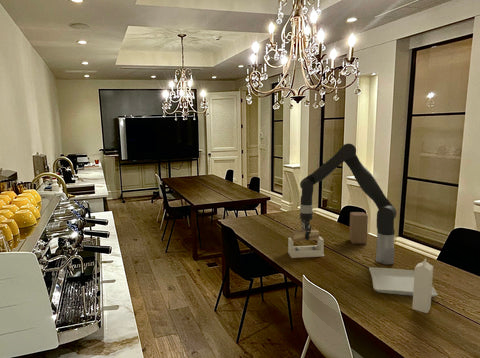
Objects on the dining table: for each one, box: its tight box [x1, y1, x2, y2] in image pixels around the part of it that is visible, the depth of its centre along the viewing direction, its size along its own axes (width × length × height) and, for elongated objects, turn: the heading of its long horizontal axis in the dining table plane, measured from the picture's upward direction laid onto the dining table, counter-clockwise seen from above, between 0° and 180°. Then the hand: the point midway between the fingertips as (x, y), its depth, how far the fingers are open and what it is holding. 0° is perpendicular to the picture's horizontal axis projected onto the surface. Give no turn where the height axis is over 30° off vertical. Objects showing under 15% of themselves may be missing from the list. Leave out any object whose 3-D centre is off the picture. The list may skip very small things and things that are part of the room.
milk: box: [411, 258, 434, 314], centre depth 147 cm, size 6×6×22 cm
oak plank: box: [292, 229, 320, 242], centre depth 213 cm, size 4×15×5 cm, turn 96°
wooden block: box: [348, 211, 369, 245], centre depth 235 cm, size 10×10×20 cm
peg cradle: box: [287, 235, 325, 259], centre depth 214 cm, size 10×20×10 cm, turn 95°
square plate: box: [368, 267, 439, 298], centre depth 170 cm, size 27×27×4 cm
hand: (305, 238), depth 213 cm, fingers closed on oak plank, 4 cm apart
